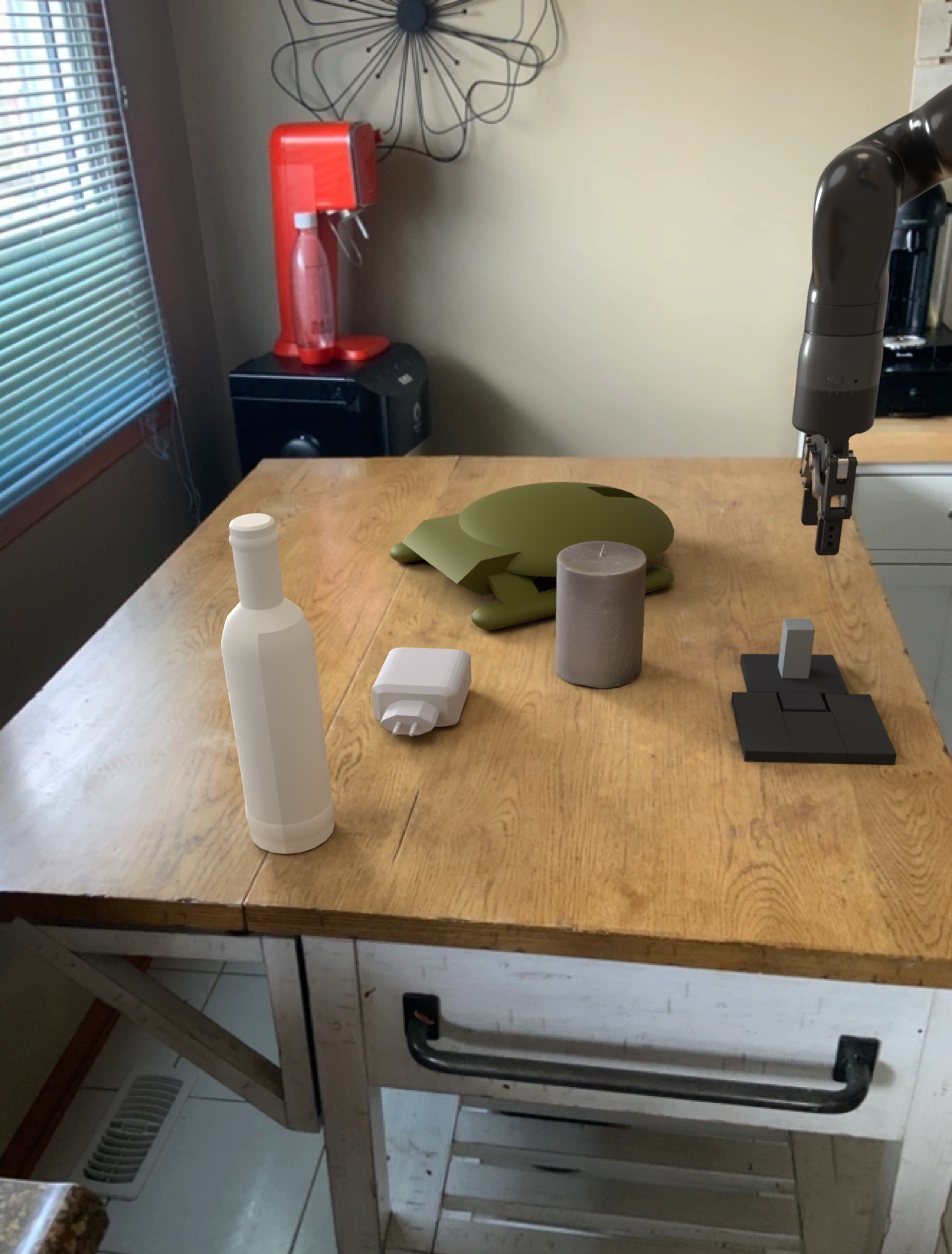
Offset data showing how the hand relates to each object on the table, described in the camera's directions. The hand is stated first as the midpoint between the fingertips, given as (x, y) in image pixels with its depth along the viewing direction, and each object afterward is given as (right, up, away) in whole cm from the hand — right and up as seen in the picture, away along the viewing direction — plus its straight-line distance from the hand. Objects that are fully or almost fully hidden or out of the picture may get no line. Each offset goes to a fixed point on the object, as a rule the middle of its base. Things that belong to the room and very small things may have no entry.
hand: (818, 538), depth 116 cm
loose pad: (0, -15, +6) cm, 17 cm away
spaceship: (-23, +2, +39) cm, 46 cm away
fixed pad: (-2, -20, -1) cm, 20 cm away
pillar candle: (-21, -13, +13) cm, 27 cm away
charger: (-41, -19, +5) cm, 45 cm away
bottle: (-53, -29, -11) cm, 61 cm away
